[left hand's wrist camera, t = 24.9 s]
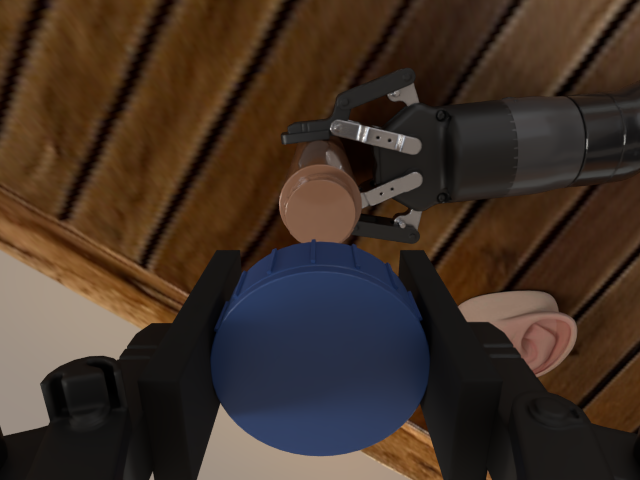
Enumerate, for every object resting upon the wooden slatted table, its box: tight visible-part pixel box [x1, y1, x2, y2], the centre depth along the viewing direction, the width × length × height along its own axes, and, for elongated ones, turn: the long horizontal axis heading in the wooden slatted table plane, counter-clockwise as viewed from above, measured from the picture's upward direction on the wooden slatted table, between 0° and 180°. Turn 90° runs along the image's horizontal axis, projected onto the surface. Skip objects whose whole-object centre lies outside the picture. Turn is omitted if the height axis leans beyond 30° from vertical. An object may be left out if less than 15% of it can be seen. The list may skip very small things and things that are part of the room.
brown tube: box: [279, 136, 362, 243], centre depth 32 cm, size 5×5×19 cm
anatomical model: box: [458, 291, 577, 377], centre depth 46 cm, size 13×4×12 cm
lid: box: [210, 239, 430, 456], centre depth 11 cm, size 5×5×2 cm
